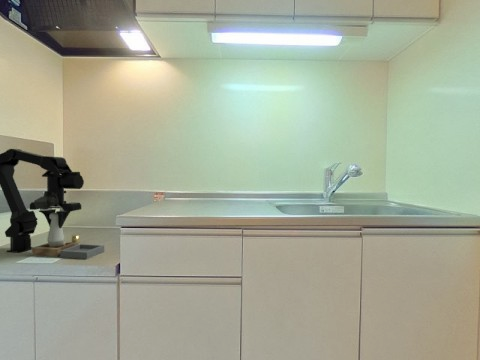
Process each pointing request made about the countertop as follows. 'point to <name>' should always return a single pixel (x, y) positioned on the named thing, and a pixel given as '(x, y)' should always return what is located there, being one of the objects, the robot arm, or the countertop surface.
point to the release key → (74, 239)
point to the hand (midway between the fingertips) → (55, 227)
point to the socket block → (51, 249)
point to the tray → (82, 251)
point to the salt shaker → (55, 232)
